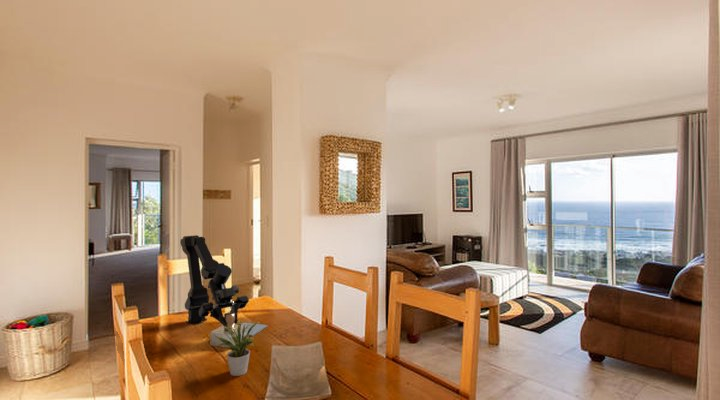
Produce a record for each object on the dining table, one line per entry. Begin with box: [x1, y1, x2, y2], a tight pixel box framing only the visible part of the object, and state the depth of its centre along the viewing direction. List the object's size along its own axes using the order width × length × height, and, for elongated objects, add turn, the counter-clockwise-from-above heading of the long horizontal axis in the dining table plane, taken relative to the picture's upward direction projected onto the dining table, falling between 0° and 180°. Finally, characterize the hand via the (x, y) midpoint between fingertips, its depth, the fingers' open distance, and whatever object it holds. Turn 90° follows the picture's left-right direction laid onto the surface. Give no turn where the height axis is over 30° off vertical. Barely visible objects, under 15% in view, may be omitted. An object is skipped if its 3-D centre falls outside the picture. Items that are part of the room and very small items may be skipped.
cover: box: [209, 311, 249, 349], centre depth 147 cm, size 10×10×11 cm
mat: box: [241, 322, 269, 337], centre depth 161 cm, size 12×12×1 cm
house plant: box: [215, 319, 260, 377], centre depth 123 cm, size 14×14×16 cm
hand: (231, 324), depth 146 cm, fingers closed on cover, 4 cm apart
